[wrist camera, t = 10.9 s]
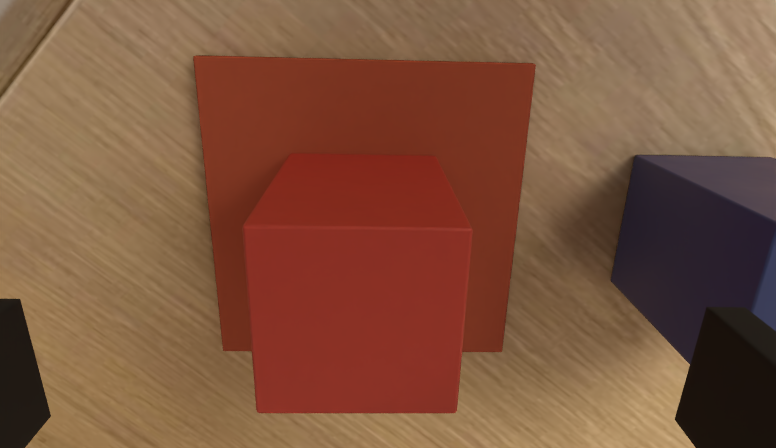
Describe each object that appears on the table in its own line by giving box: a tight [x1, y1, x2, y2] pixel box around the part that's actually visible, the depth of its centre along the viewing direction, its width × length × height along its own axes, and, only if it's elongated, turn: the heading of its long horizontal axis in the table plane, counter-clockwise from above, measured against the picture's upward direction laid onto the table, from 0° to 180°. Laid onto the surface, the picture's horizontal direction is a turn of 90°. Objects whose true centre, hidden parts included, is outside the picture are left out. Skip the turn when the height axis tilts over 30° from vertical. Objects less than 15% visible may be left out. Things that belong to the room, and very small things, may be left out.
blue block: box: [611, 155, 776, 364], centre depth 16 cm, size 5×5×7 cm
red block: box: [242, 153, 473, 413], centre depth 15 cm, size 5×5×7 cm
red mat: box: [193, 56, 536, 352], centre depth 19 cm, size 11×11×1 cm
